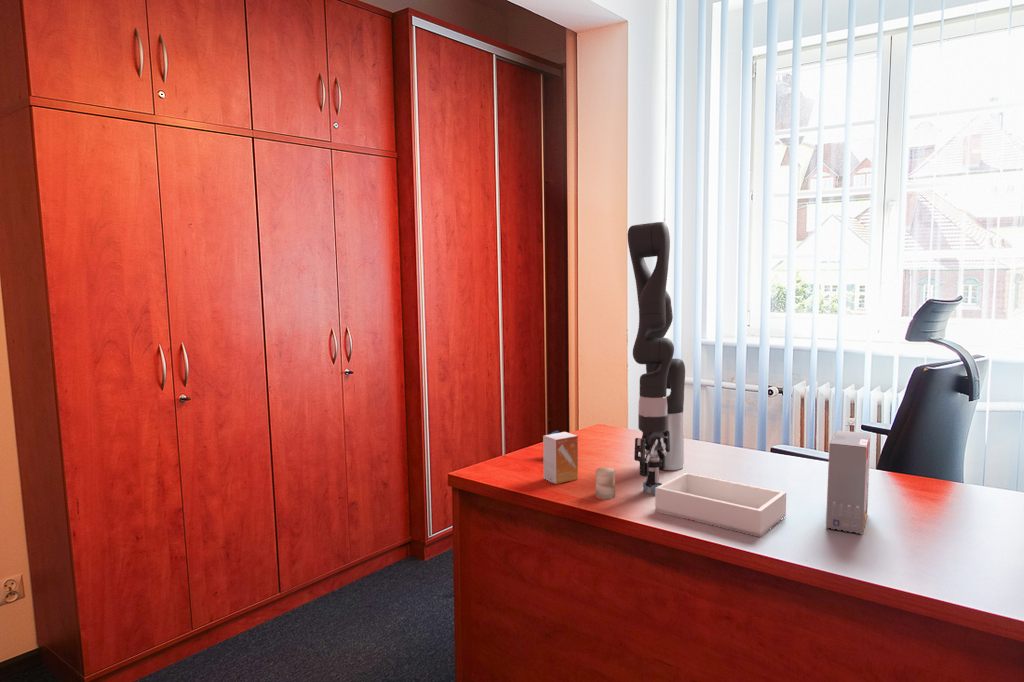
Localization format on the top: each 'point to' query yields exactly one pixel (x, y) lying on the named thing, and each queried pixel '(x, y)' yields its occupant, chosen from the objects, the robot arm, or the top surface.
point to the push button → (652, 474)
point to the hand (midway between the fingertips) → (652, 472)
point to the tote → (721, 503)
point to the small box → (560, 457)
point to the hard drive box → (848, 481)
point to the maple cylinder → (605, 483)
